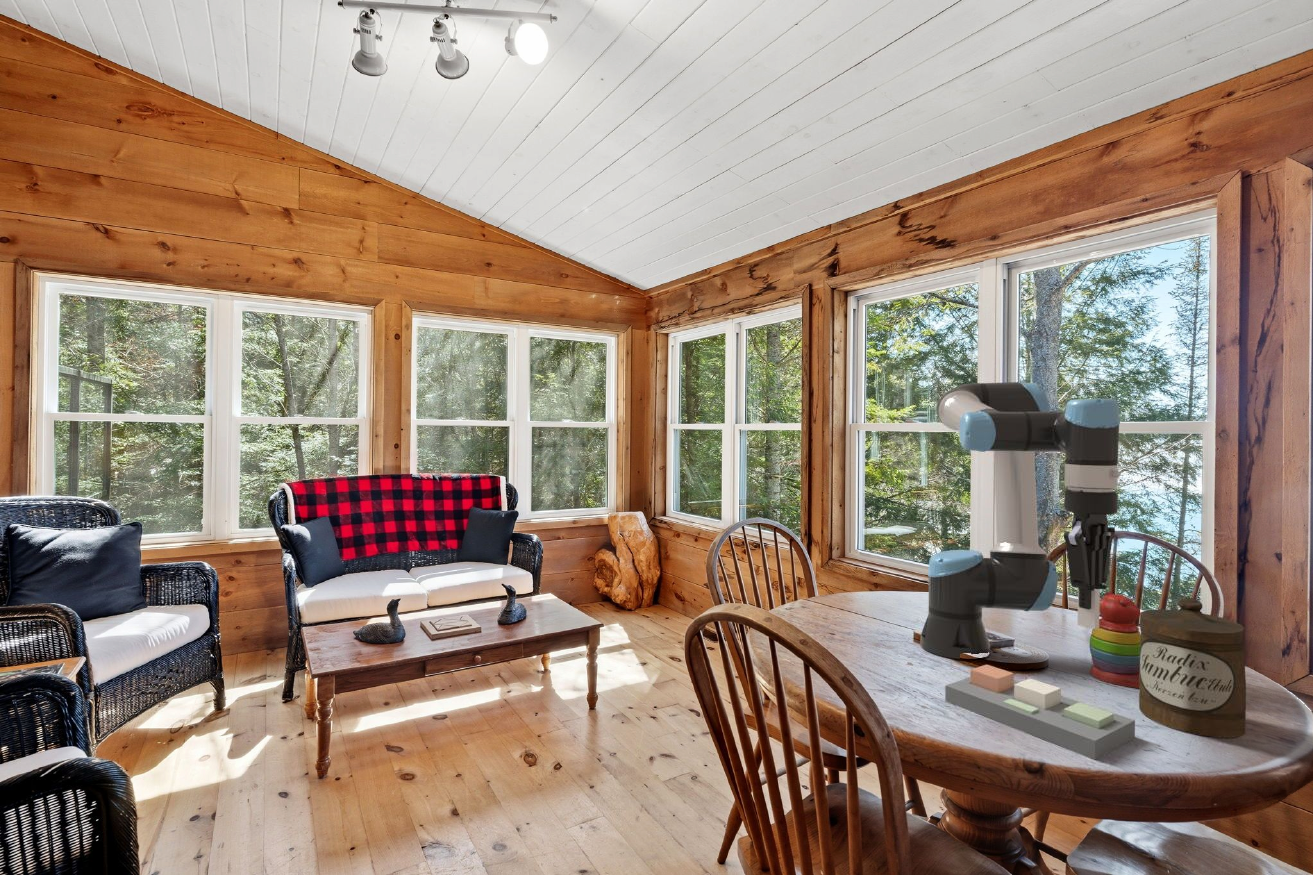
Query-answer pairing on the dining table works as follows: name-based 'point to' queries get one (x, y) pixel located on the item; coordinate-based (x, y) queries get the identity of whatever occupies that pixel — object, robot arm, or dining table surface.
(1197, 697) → the wooden container
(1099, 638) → the stacking bear
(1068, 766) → the dining table surface
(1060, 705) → the console
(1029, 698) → the off-white key
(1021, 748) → the dining table surface
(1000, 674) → the terracotta key
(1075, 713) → the sage green key
